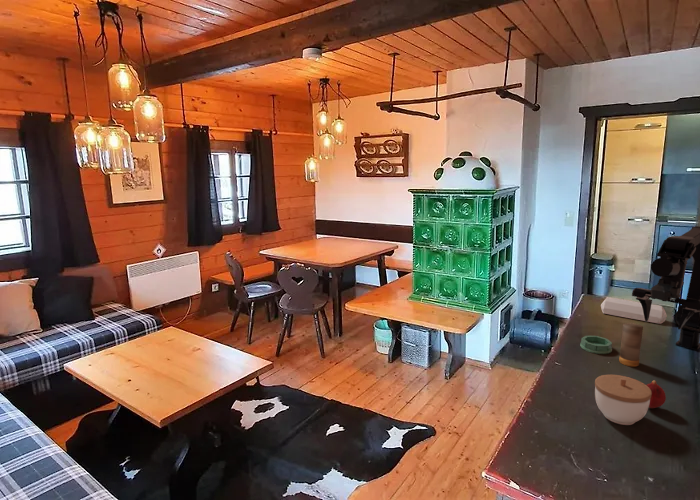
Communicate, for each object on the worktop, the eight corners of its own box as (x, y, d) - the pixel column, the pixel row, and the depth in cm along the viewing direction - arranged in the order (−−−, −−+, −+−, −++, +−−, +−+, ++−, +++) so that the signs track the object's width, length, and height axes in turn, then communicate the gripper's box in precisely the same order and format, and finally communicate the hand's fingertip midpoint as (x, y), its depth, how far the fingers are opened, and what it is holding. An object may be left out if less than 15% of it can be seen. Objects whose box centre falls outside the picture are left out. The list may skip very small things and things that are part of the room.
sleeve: (622, 357, 151) (626, 321, 148) (641, 362, 147) (645, 326, 144) (616, 362, 147) (620, 325, 145) (635, 368, 143) (639, 330, 140)
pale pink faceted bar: (597, 306, 190) (665, 318, 175) (601, 294, 194) (668, 305, 179) (598, 317, 194) (664, 330, 179) (602, 306, 198) (667, 318, 183)
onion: (668, 414, 117) (671, 387, 116) (644, 412, 119) (647, 385, 117) (657, 403, 123) (661, 376, 121) (635, 401, 124) (638, 375, 123)
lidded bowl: (583, 404, 123) (586, 367, 121) (629, 404, 123) (633, 367, 121) (607, 431, 111) (612, 391, 109) (659, 431, 111) (664, 391, 108)
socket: (587, 340, 165) (588, 332, 165) (616, 348, 158) (617, 340, 157) (575, 347, 159) (575, 340, 159) (605, 356, 152) (605, 349, 151)
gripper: (629, 270, 142) (619, 317, 144) (699, 283, 127) (688, 335, 129) (643, 271, 149) (634, 316, 150) (711, 283, 134) (701, 333, 135)
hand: (662, 325), depth 141 cm, fingers open, 9 cm apart
